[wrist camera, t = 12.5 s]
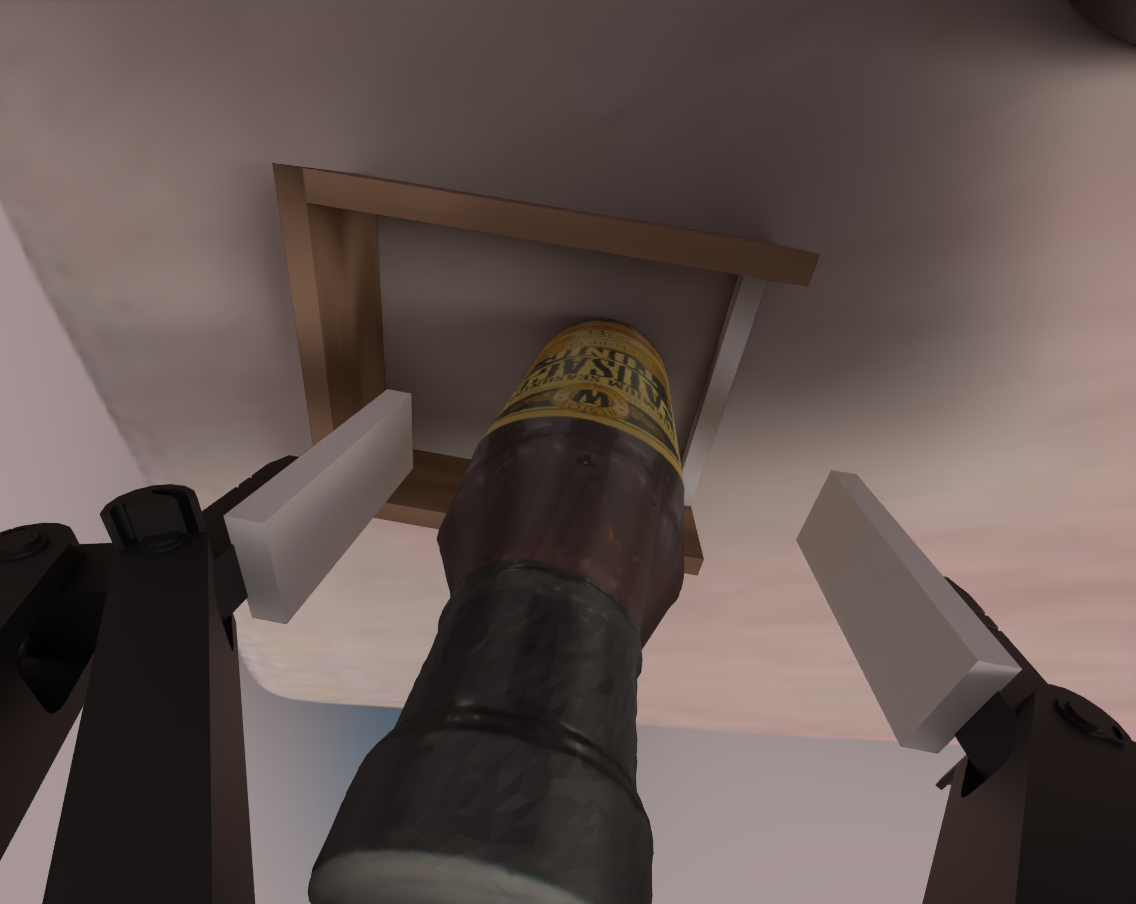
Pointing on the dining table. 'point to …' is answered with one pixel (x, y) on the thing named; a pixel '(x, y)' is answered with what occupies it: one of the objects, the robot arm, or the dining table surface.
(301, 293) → the frame
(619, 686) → the sauce bottle
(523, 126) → the dining table surface
